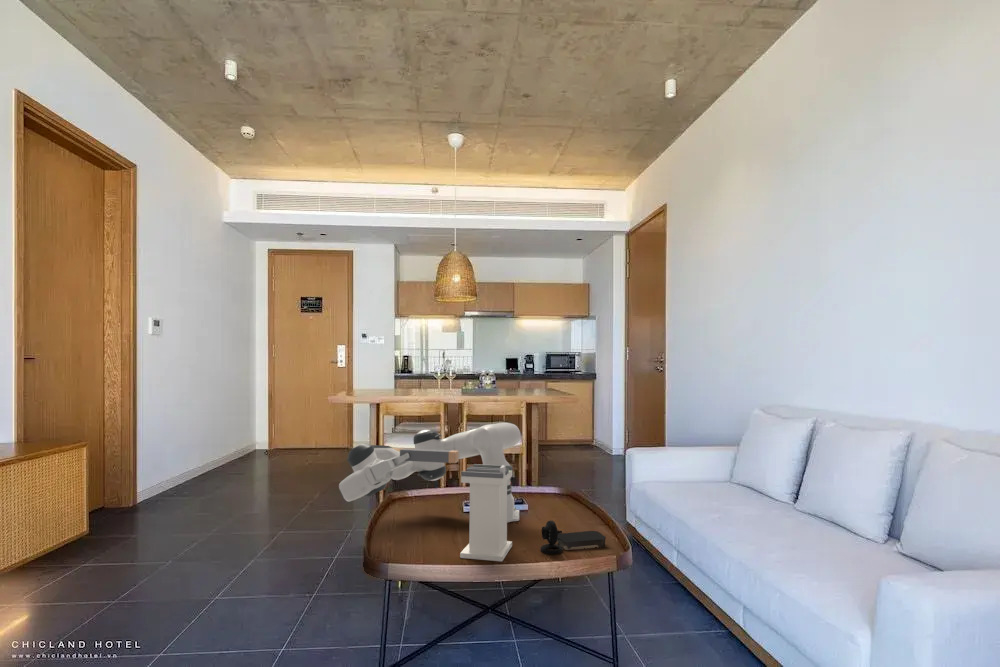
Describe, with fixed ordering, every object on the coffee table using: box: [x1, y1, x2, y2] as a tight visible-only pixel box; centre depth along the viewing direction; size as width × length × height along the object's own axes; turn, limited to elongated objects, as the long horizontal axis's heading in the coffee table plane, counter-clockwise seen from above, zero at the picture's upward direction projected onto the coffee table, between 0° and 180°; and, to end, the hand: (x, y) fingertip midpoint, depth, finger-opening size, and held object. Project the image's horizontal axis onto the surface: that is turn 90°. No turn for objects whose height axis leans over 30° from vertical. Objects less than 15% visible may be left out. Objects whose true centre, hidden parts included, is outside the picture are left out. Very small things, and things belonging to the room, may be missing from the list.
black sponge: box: [556, 530, 607, 551], centre depth 183 cm, size 16×8×4 cm, turn 104°
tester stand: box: [459, 463, 513, 562], centre depth 177 cm, size 16×14×29 cm
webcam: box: [540, 520, 564, 555], centre depth 178 cm, size 8×8×10 cm
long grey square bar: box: [399, 447, 460, 464], centre depth 179 cm, size 4×20×4 cm, turn 77°
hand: (412, 453), depth 180 cm, fingers closed on long grey square bar, 4 cm apart
